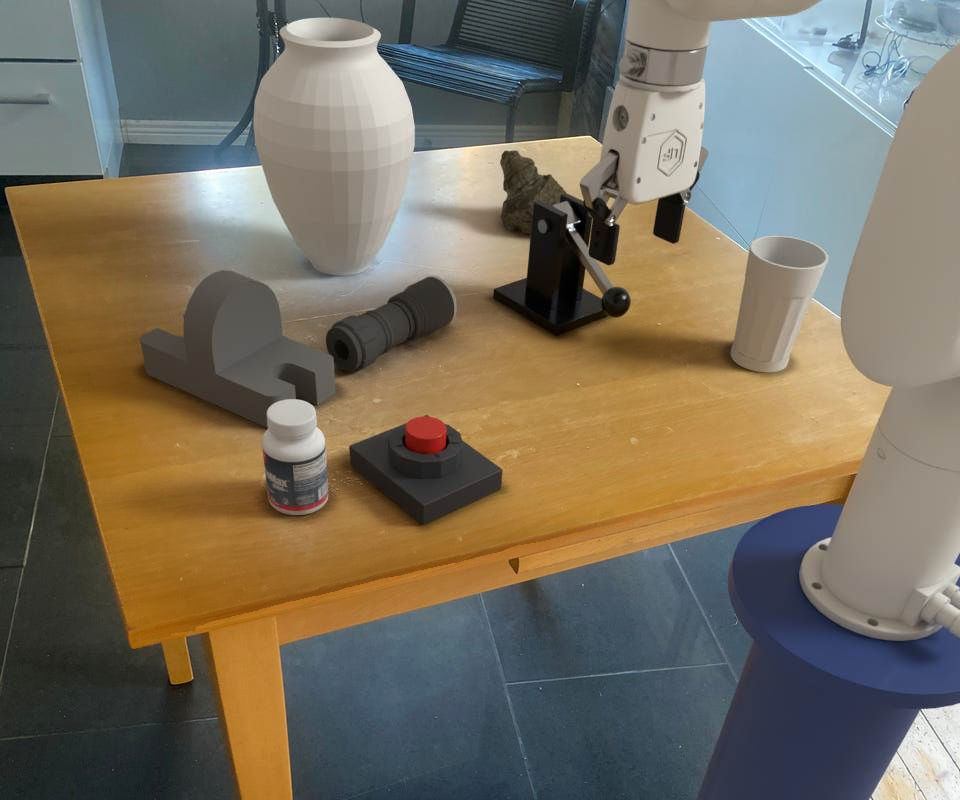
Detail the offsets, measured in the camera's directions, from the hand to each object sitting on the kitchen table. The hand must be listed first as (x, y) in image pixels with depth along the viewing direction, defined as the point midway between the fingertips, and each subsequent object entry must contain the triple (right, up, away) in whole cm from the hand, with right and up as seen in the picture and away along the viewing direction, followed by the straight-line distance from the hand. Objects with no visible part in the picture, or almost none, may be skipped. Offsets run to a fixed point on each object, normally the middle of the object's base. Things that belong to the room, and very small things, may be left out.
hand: (634, 249), depth 102 cm
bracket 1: (-40, -14, -2) cm, 43 cm away
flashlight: (-25, -9, +5) cm, 27 cm away
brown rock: (-8, +14, +29) cm, 33 cm away
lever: (-5, 0, +7) cm, 9 cm away
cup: (+15, -9, +7) cm, 19 cm away
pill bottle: (-32, -28, -15) cm, 45 cm away
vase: (-33, +6, +18) cm, 38 cm away
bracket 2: (-8, -1, +13) cm, 15 cm away
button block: (-21, -26, -12) cm, 35 cm away
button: (-21, -23, -15) cm, 34 cm away
